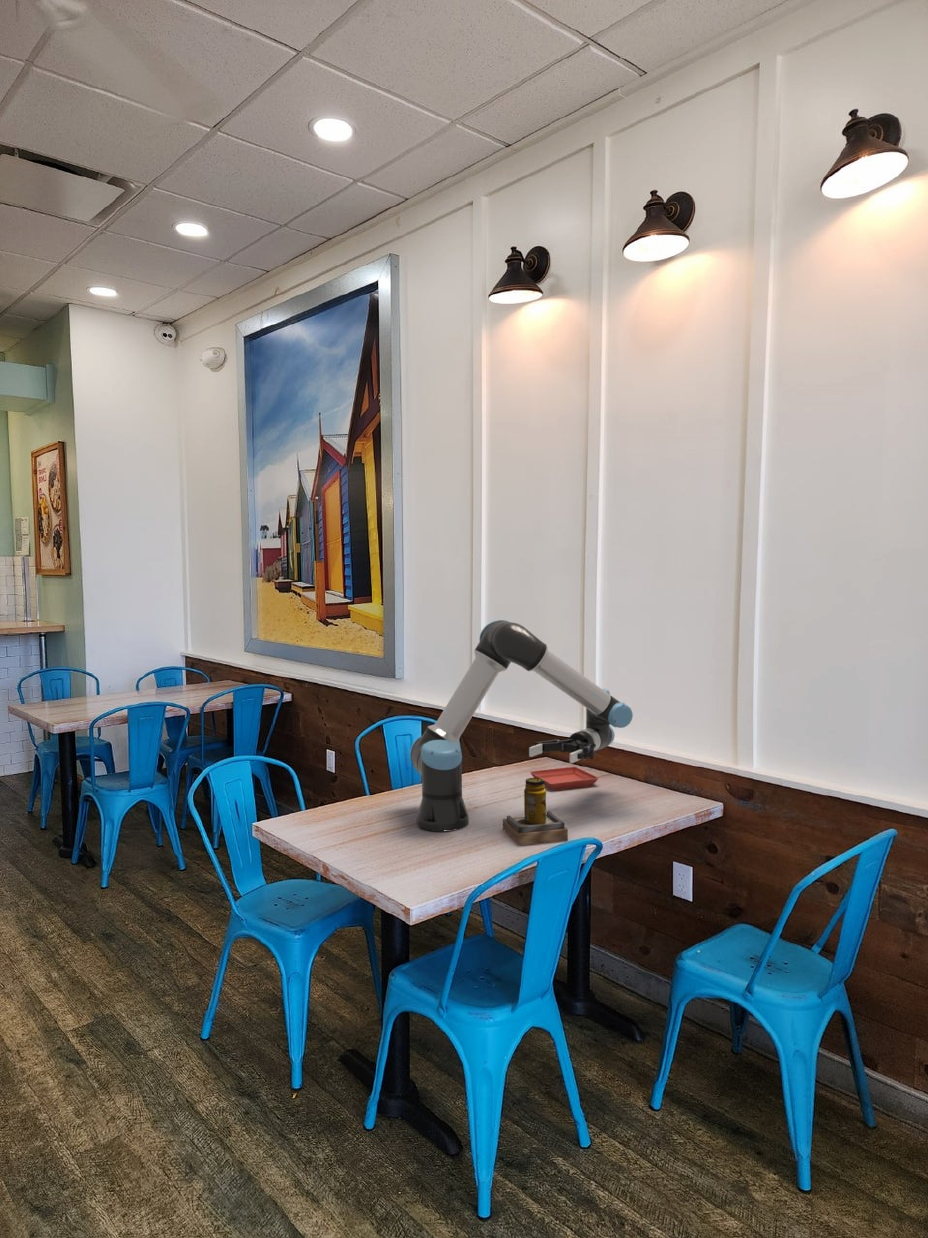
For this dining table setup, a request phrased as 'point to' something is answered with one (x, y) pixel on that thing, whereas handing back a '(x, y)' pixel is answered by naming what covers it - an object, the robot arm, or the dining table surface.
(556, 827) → the dock
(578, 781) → the plant saucer
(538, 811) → the condiment
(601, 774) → the dining table surface
